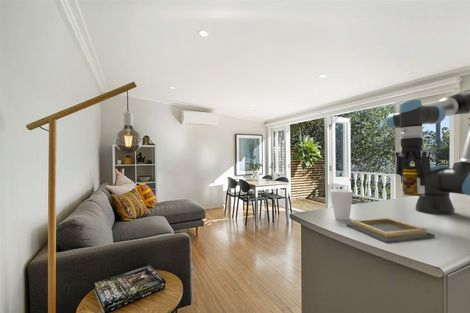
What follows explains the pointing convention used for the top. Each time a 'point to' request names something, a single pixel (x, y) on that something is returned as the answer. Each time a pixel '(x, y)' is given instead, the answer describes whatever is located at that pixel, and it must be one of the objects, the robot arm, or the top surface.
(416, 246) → the top surface
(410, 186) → the condiment
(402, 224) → the wooden rimmed tray
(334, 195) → the foam cup
